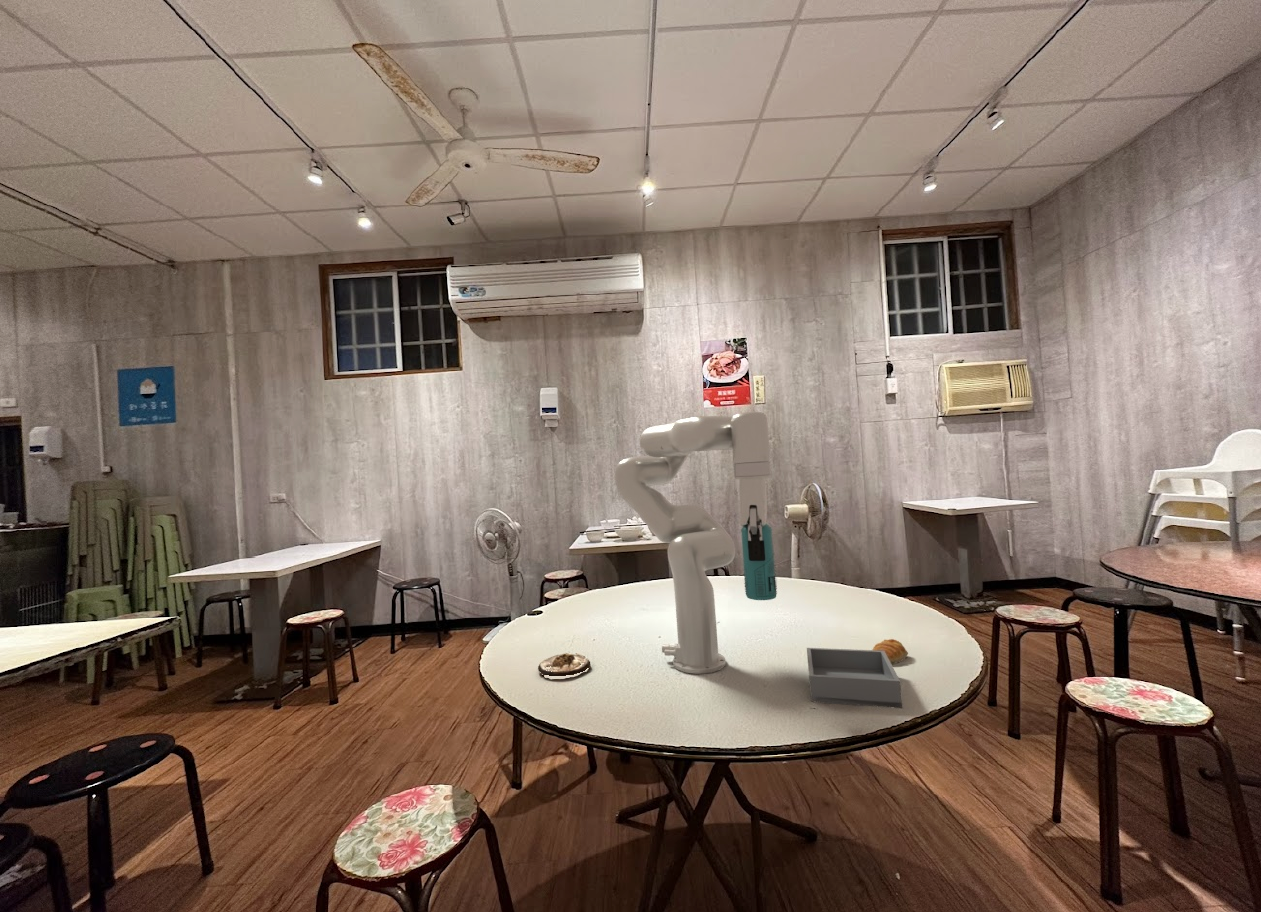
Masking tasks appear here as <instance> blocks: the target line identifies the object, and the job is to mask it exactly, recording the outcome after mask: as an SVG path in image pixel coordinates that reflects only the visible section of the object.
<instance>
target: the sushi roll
mask: <svg viewBox="0 0 1261 912" xmlns="http://www.w3.org/2000/svg"><path fill="white" fill-rule="evenodd" d="M549 663H550V664H549ZM581 663H584V664H582V666H580V665H581ZM550 666H551V668H550V669H545V668H546V667H550ZM589 667H590V668H591V661H590V659H589V658H588V657H587V656H586V655H584V654H580V653H575V654H573V653H571V654H570V653H567V652H565V653H561V654H555V655H553V656H551V657H548V658H546V659H544V660H542V661H541V662H540V663H539V664H538V666H537V670H538V673H540V672H541V673H542V674H543V675H549V676H566V675H574V674H577V673H580V672H583V671H585V670H586V669H587V668H589ZM546 670H547V671H546ZM548 670H549V671H548ZM551 671H552V672H551Z"/></svg>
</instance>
